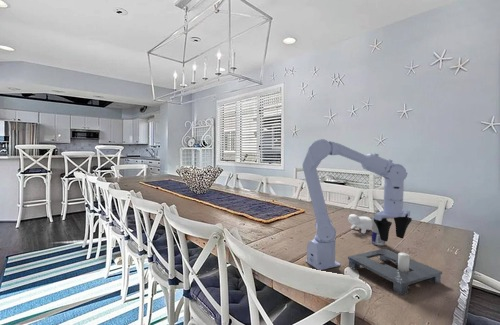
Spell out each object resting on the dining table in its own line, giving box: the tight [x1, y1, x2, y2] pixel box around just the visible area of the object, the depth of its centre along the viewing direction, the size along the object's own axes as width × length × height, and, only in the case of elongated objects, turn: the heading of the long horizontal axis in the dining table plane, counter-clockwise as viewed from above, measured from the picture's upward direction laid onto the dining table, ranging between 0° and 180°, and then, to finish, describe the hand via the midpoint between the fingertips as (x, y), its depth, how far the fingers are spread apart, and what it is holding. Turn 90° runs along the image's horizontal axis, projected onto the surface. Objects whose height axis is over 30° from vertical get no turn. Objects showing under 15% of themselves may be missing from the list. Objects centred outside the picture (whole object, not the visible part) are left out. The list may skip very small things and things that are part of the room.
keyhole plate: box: [347, 248, 443, 296], centre depth 84 cm, size 18×20×3 cm
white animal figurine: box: [347, 213, 372, 234], centre depth 129 cm, size 9×8×15 cm
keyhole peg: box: [397, 252, 411, 273], centre depth 81 cm, size 5×5×8 cm
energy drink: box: [371, 214, 386, 247], centre depth 111 cm, size 5×5×12 cm
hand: (392, 238), depth 87 cm, fingers open, 7 cm apart
